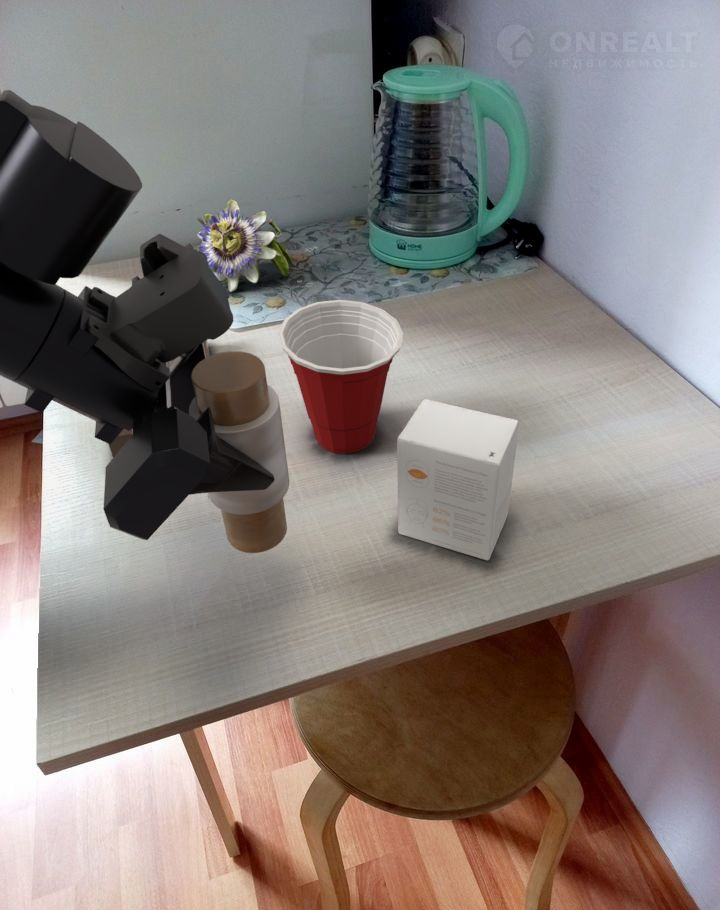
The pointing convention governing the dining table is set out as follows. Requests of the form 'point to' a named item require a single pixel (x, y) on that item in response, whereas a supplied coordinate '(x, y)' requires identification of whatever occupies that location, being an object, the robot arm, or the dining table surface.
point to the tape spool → (246, 444)
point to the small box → (455, 477)
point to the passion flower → (240, 245)
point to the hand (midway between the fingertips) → (264, 454)
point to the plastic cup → (341, 367)
